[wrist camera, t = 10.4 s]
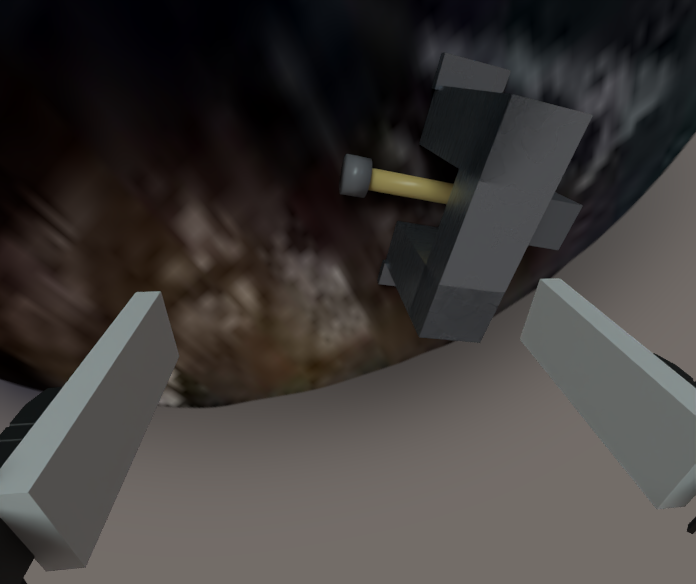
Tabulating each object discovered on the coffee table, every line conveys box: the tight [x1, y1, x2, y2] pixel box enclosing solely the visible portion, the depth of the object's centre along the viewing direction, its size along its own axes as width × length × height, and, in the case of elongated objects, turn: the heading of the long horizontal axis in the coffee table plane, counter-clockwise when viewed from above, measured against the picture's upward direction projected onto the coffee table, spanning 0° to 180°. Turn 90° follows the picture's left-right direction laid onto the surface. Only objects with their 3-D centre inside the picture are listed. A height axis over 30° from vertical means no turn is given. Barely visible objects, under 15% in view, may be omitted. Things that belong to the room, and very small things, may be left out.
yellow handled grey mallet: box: [339, 154, 582, 250], centre depth 31 cm, size 19×4×6 cm, turn 78°
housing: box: [377, 53, 593, 343], centre depth 28 cm, size 6×20×12 cm, turn 168°
